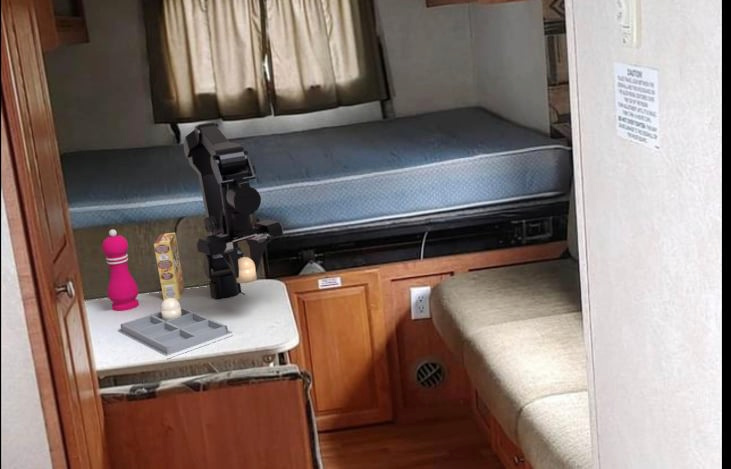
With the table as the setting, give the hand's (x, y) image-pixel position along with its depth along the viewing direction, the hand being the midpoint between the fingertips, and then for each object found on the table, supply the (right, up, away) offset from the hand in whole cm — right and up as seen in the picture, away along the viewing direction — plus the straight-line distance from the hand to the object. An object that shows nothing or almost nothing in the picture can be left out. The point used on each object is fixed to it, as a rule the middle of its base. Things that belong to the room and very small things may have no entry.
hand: (245, 274), depth 208 cm
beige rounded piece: (0, -1, 0) cm, 1 cm away
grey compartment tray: (-16, -13, +1) cm, 21 cm away
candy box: (-21, -7, +27) cm, 35 cm away
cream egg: (-18, -11, +8) cm, 22 cm away
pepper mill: (-31, -9, +21) cm, 39 cm away
